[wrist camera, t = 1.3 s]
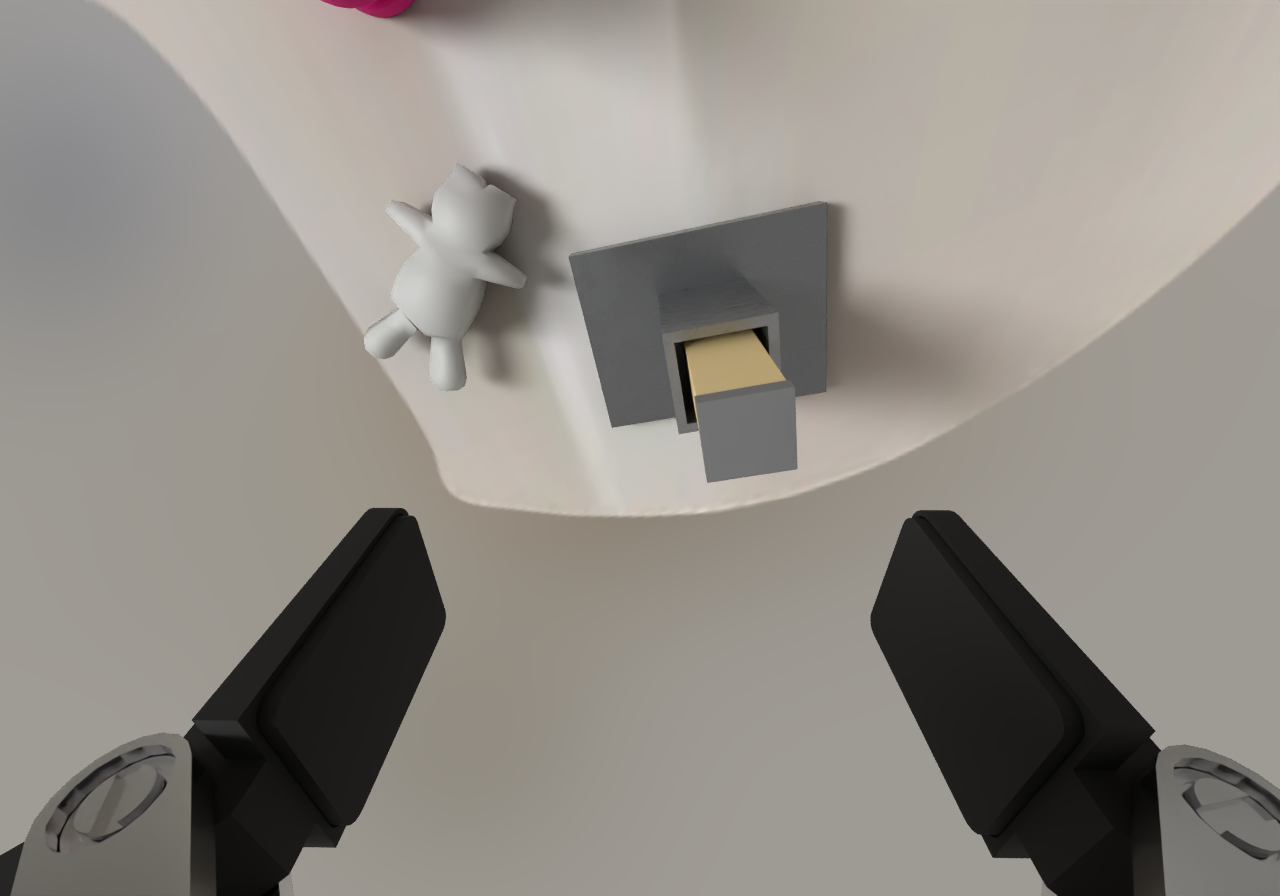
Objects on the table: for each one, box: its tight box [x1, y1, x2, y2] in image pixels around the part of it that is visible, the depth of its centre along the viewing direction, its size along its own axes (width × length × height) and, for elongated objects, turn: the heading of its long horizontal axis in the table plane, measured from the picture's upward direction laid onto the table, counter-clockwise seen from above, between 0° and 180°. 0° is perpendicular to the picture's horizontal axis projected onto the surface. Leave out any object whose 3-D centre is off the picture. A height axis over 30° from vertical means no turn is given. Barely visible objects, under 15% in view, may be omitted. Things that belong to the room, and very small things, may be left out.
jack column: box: [682, 329, 797, 483], centre depth 28 cm, size 4×4×17 cm
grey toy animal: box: [364, 163, 527, 391], centre depth 34 cm, size 10×5×15 cm
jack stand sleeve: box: [569, 201, 827, 434], centre depth 32 cm, size 18×14×12 cm
